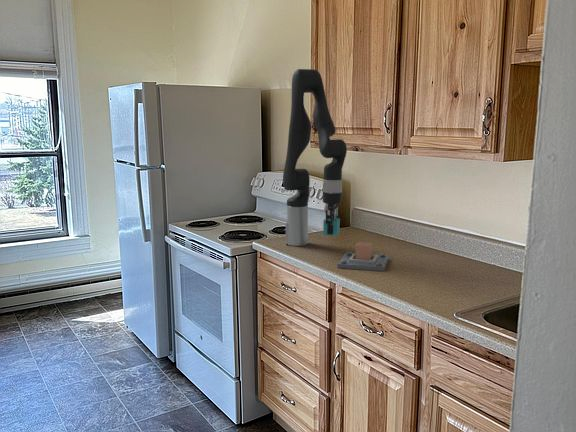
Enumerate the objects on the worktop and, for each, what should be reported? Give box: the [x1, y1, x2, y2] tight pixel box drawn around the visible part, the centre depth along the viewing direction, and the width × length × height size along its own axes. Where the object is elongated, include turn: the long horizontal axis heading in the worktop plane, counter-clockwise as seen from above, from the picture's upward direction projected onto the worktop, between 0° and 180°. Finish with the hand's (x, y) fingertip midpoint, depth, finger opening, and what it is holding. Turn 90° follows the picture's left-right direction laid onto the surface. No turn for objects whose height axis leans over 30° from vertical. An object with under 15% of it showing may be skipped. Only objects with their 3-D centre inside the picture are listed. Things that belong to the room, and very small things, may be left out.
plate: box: [336, 251, 389, 272], centre depth 201 cm, size 17×17×2 cm
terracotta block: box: [354, 241, 373, 260], centre depth 201 cm, size 6×6×6 cm
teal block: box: [322, 217, 341, 237], centre depth 211 cm, size 6×6×6 cm
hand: (331, 232), depth 212 cm, fingers closed on teal block, 5 cm apart
